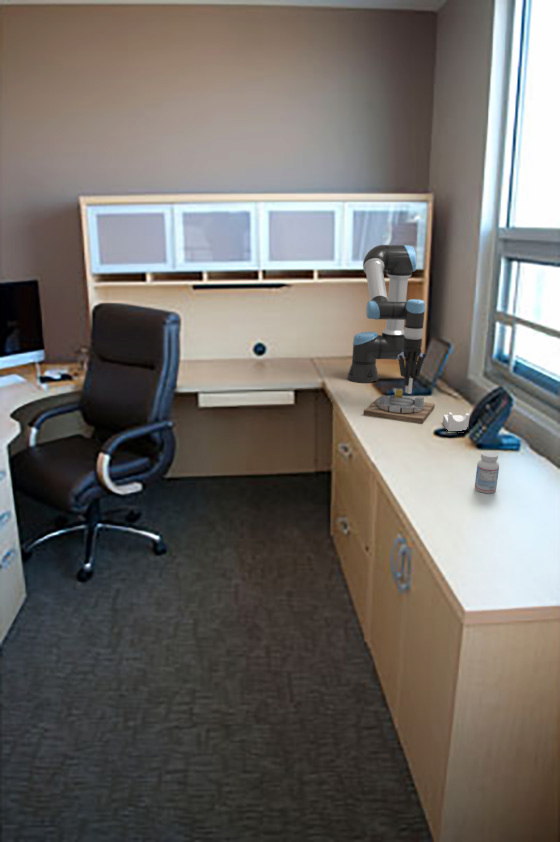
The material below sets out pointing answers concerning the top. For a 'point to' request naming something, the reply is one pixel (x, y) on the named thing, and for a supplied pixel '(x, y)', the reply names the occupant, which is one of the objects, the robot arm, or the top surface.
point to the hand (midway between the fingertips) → (408, 392)
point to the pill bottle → (487, 473)
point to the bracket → (456, 422)
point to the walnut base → (410, 417)
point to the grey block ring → (416, 407)
